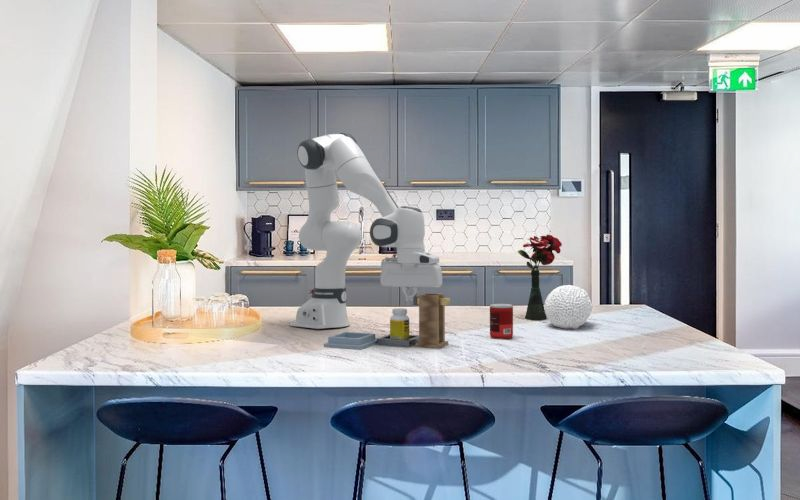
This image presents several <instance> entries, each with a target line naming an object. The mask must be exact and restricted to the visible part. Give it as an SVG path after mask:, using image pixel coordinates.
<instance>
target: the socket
mask: <svg viewBox="0 0 800 500" xmlns="http://www.w3.org/2000/svg"><path fill="white" fill-rule="evenodd" d="M376 340H377V344H376V345H377V346H386V347H387V346H388V347H399V348H400V347H401V348H411V347H413V346H415V344H416V343H418V342H419V334H418V335H417V334H415V335H414V334H409V340H397V339H390V333H389V334H386V335H383V336H380V337H378V338H376Z"/></svg>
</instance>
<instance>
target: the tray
mask: <svg viewBox="0 0 800 500" xmlns="http://www.w3.org/2000/svg"><path fill="white" fill-rule="evenodd" d="M327 341H328V342H324V343H323V347H324V348H336V349H337V348H338V349H346V350H347V349H349V350H360V351H362V350H363V349H367V348H370V347H372V346H375V345H377V338H376V333H369V332H355V331H354V332H352V331H351V332H350V331H343V332H340V333H337V334H336V333H335V334H333V335H330V336H328V338H327Z"/></svg>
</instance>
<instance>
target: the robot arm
mask: <svg viewBox="0 0 800 500" xmlns="http://www.w3.org/2000/svg"><path fill="white" fill-rule="evenodd" d="M357 142H358V141H357V140H356V139H355V137H354V136H353V135H352V134H351V133H347V132H340V133H332V134H331V133H329V134H324V135H321V136H317V137H314V138H308V139H305V140H303V141H301V142H300V143H299V144H298V147H297V158H298V159H297V160H298V162H299V163H300V165H301V166H302V168H304V171H305V172H304V174H305V175H304V176H305V185H306V191H307V197H308V207H309V208H308V216H307V217H306V218H307V219H306V221H305V222H304V224H303V225H301V227H300V230H299V232H298V239H299V243H300V245H301V246H302V247H303V248H304V249H307V250H310V251H311V250H312V251H316V252H317V251H320V252H321V251H323V252H326V255H325V257H324V259H323V261H321V262H319V263H318V264H317V265H316V267H315V270H314V271H315V272H314V274H315V275H314V276H315V279H314V281H315V283H314V285H315V287H314V288H313V289H311V290H309V293H308V294H309V295H310V294H311V296H310V298H309V300H307V301H305V303H303V304H302V305H301V306H300V307H298V308H297V311H296V314H295V315H296V316H295V320H294V321H290V323H289V326H291V327H300V328H308V329H309V328H310V329H316V330H321V329H330V328H344V327H348V326H350V321H349V317H348V312H347V303H346V302H347V288H346V268H347V263H348V262H349V261H348V260H349V258H350V257H351V255H352V253H353V252H354V251H355V250H356V249H358V247H359V246H360V244H361V242H362V238H363V236H362V230H361V228H360V227H359V225H358V224H357V223H354V222H349V221H345V220H341V221H338V220H337V221H331V220H332V219H331V216H332V215H331V214H332V212H333V211H335V210H336V209H337V208H338V206H339V204H340V196H339V190H338V183H337V182H338V181H337V178H336V174H337V176H338V177H339V180H340V182H341V183H342V184H343V186H344V187H345V188H346V189H347V190H348V191H350V192H351V193H353V194H356V195H358V196H361V197H363V198H365V200H366V199H367V200H368V201H369V202H371V203H372V204H373V205H374V206H375V207H376V209H377V210H378V212H379V213H380V215H381V217H379V218H376V219H374V221H373V222H372V224H371V225H370V227H369V228H370V229H369V236H370V239H371V241H372V243H373V244H374V245H376V246H378V247H381V248H396V257H385V258H383V259H382V260H381V262H380V268H381V271H380V280H379V281H380V284H381V286H382V287H395V288H397V287H399V288H401V291H402V292H403V294H404V296H405V302H413V297H415V296H418V293H419V292H420V288H430V289H431V288H433V289H435V288H437V289H438V288H441V286H442V285H443V271H442V267H441V265H440V264H439V263H440V256H437V255H435V254H431V253H428V252H426V250H425V248H426V247H425V242H424V238H425V234H426V233H425V232H426V231H425V230H426V229H425V217H424V213H423V211H422V210H421V209H420V208H417V207H414V206H406V205H403V206H398V204H397V203H396V201H395V200H394V199H393V197H392V195H391V194H390V192H389V191H388V190H387V188H386V187H385V185H384V184H383V183H382V181H381V180H380V178H379V177H378V176H377V173H376V172H375V171H374V169H373V168H372V166H371V164H370V162H369V161H368V159H367V157H366V155H365V154H364V152H363V151H362V150H361V148H360V146H359V145H358V143H357ZM410 288H412V290H413V293H412V295H410V293H409V290H410Z"/></svg>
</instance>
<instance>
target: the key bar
mask: <svg viewBox="0 0 800 500" xmlns="http://www.w3.org/2000/svg"><path fill="white" fill-rule="evenodd" d="M412 303H413V304H412V305H413V306H419V295H416V296H415V297H413V301H412ZM439 305H445V306H448V305H449V306H450V305H451V297H445V298H439Z"/></svg>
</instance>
